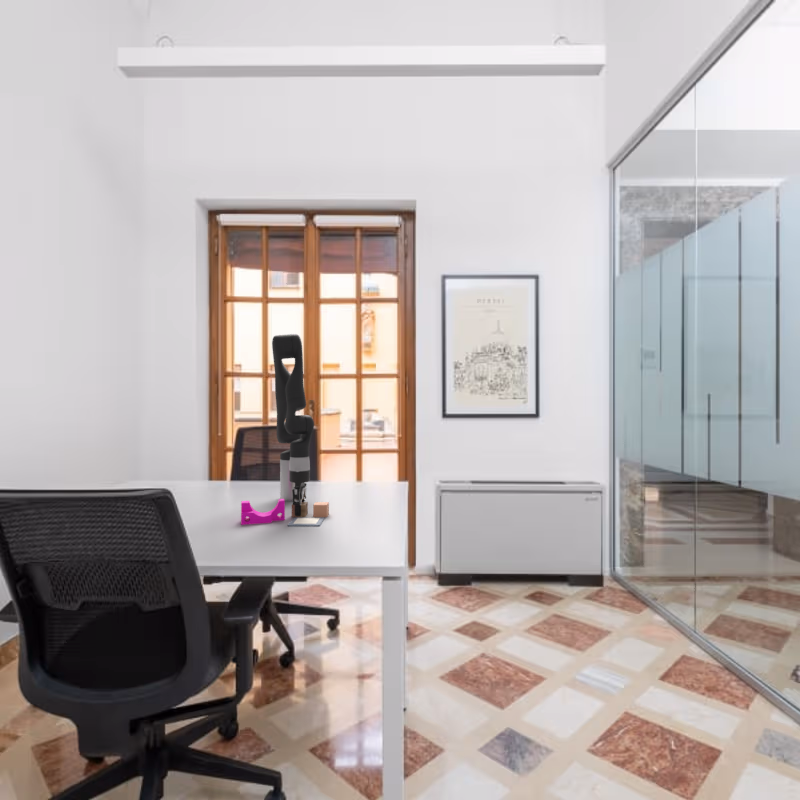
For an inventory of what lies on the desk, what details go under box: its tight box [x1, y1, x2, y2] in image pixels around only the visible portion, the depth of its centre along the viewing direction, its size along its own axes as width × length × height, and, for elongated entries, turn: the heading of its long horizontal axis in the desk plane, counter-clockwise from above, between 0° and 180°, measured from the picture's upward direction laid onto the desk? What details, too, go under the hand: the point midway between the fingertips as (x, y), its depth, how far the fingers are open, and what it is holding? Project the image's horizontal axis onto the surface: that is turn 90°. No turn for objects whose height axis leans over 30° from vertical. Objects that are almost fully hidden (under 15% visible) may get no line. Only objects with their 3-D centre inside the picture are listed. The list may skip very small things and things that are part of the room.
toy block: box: [240, 498, 286, 526], centre depth 190 cm, size 15×6×8 cm, turn 105°
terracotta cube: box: [312, 501, 330, 518], centre depth 198 cm, size 5×5×5 cm
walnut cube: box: [291, 501, 309, 518], centre depth 198 cm, size 5×5×5 cm
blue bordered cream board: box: [287, 516, 326, 527], centre depth 188 cm, size 11×11×1 cm
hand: (299, 513), depth 198 cm, fingers open, 6 cm apart
